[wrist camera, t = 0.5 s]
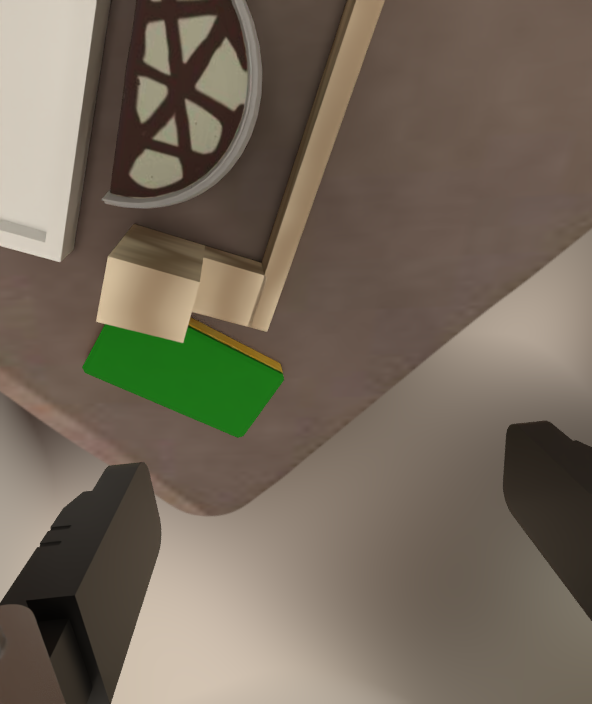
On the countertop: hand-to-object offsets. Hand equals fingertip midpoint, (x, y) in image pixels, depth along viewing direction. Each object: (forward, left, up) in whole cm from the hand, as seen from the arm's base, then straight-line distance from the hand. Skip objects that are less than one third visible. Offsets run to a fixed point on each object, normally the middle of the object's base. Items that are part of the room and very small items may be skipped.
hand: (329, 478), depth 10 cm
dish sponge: (-2, -12, -27) cm, 29 cm away
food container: (-6, +6, -26) cm, 27 cm away
